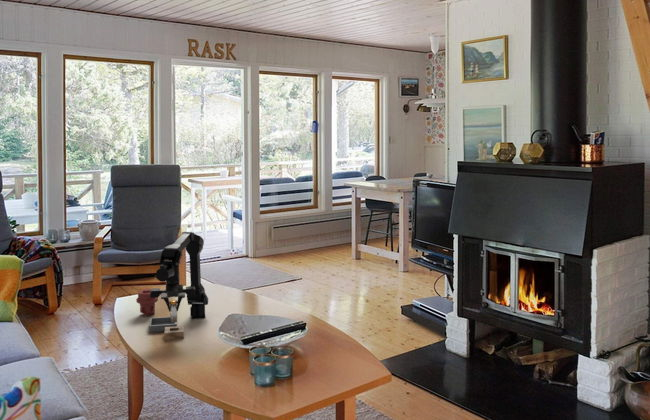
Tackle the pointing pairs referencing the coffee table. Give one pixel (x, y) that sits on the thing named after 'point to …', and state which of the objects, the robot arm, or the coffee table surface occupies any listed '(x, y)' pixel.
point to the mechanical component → (146, 302)
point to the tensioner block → (174, 332)
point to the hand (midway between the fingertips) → (173, 311)
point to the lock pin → (173, 310)
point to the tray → (160, 324)
